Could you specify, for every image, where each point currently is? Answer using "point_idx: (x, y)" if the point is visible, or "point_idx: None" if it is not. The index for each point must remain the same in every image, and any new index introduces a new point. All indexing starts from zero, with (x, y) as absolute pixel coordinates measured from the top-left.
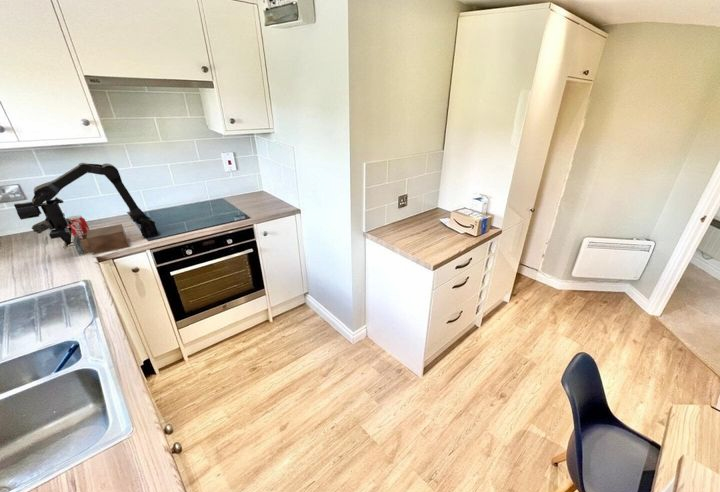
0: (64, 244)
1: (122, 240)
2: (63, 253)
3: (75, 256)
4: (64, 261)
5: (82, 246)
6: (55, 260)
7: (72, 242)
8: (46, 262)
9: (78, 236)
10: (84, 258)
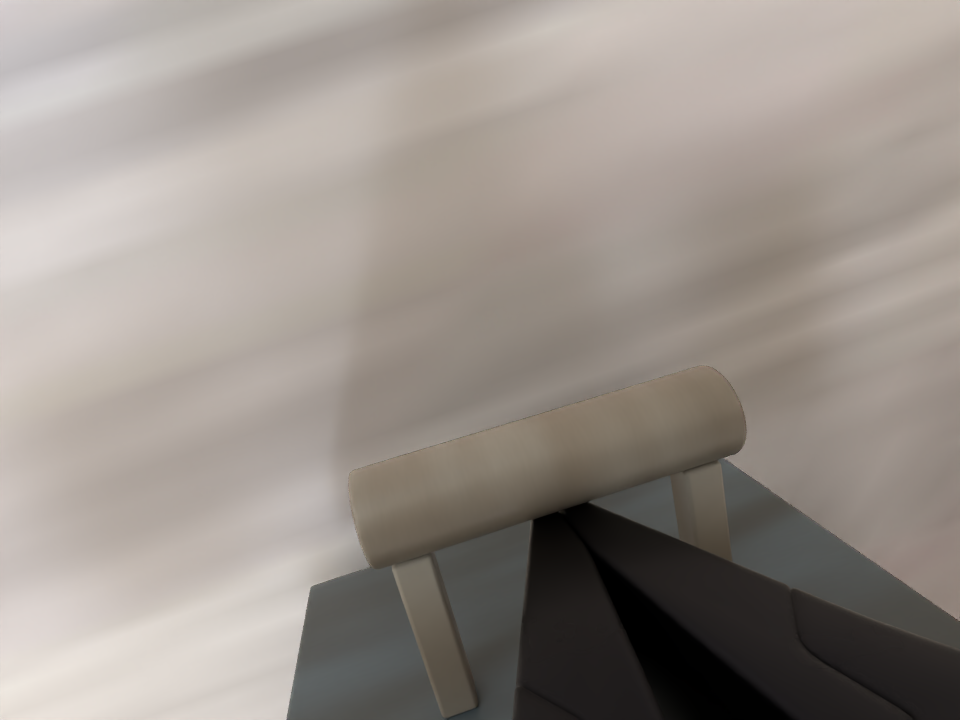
0: (522, 481)
1: None
2: (613, 211)
3: None
4: (162, 376)
5: None
6: (279, 180)
7: None
8: (219, 20)
9: None
10: (208, 652)
